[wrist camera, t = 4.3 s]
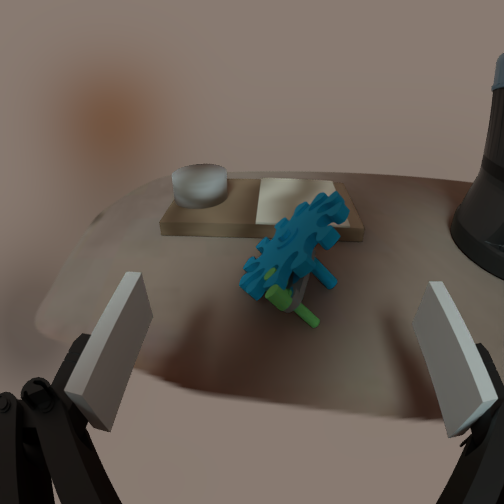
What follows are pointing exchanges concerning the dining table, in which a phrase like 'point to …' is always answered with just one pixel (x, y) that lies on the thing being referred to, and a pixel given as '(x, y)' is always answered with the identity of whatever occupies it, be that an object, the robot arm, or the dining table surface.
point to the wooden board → (244, 204)
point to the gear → (296, 255)
